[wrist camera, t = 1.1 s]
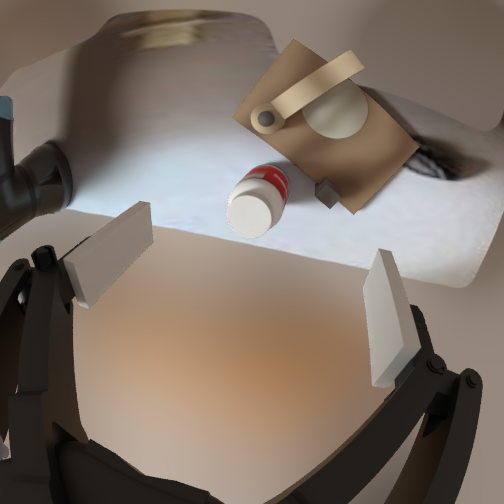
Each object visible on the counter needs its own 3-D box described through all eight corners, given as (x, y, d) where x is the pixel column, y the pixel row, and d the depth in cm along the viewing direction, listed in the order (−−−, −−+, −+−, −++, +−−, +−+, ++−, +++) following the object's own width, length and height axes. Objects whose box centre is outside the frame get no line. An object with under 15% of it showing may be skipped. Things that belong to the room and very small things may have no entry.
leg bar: (268, 137, 31) (263, 141, 28) (250, 115, 30) (242, 116, 27) (363, 74, 24) (369, 71, 21) (344, 50, 23) (347, 44, 20)
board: (231, 121, 32) (220, 124, 29) (294, 41, 25) (291, 32, 21) (348, 214, 36) (352, 228, 32) (415, 144, 28) (428, 151, 24)
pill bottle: (293, 204, 37) (283, 243, 28) (250, 208, 39) (226, 246, 29) (286, 160, 34) (273, 184, 25) (241, 166, 36) (212, 192, 26)
